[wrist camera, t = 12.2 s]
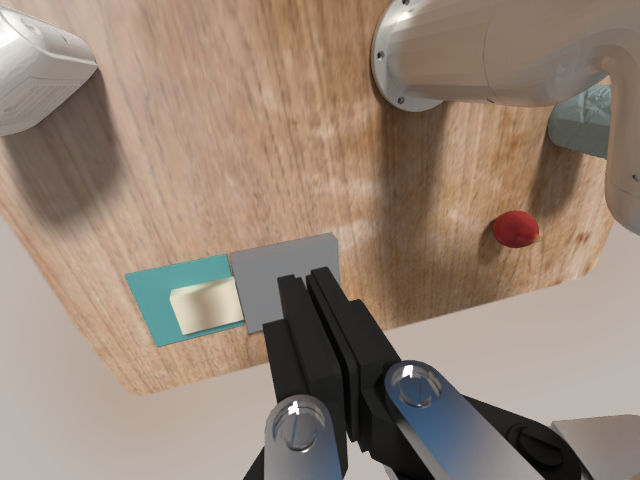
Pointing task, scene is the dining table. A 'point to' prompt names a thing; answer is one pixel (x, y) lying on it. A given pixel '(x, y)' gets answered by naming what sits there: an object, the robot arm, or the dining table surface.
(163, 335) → the teal mat
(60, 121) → the dining table surface
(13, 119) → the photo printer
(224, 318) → the birch tile
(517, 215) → the onion
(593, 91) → the blue ceramic planter
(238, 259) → the grey flat slab
